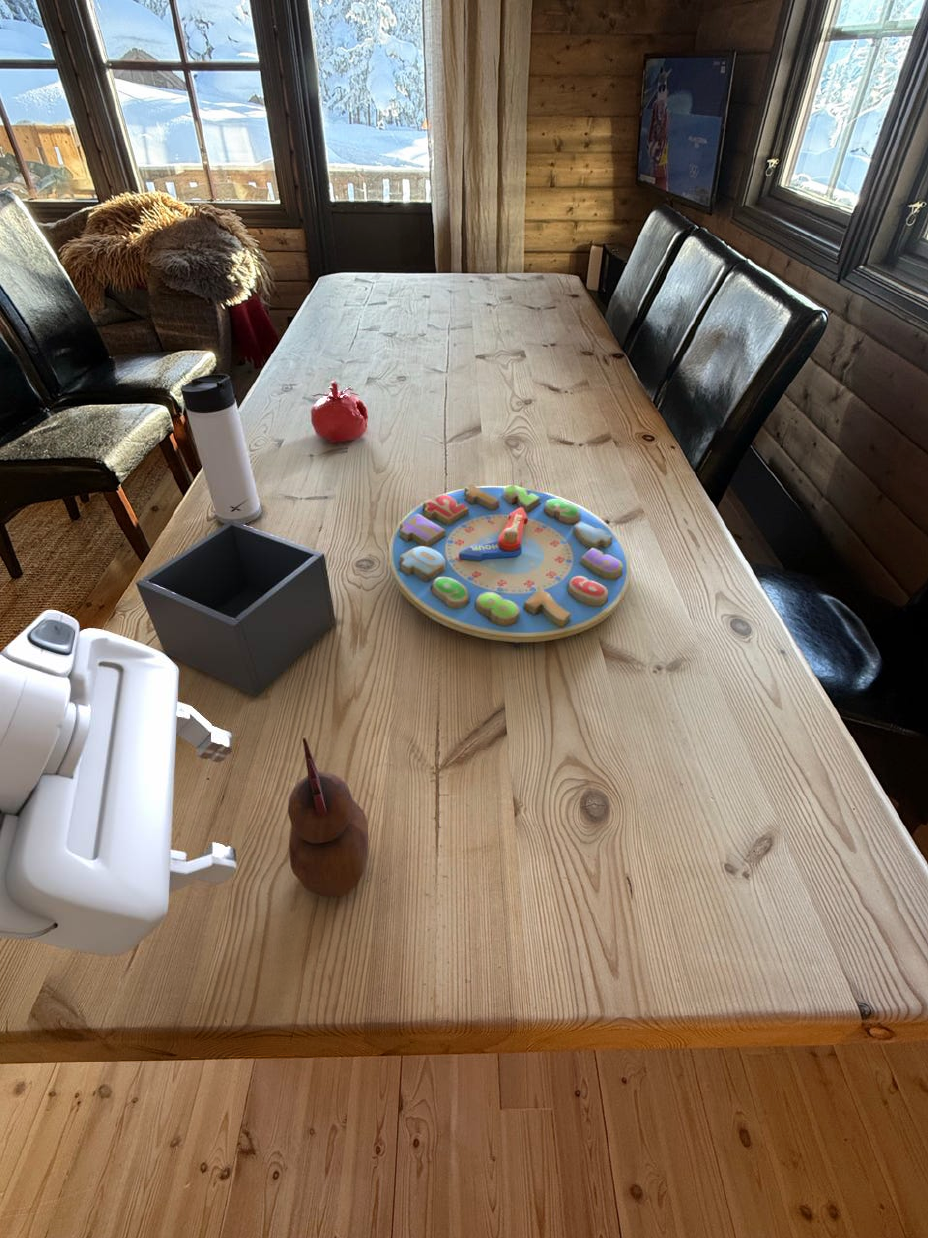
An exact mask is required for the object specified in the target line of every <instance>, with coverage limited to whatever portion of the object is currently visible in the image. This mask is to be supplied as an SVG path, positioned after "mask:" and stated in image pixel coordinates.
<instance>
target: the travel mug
mask: <svg viewBox="0 0 928 1238" xmlns="http://www.w3.org/2000/svg"><path fill="white" fill-rule="evenodd" d="M232 384H233V383H232V379H231V377H230V376H229V375H228V374H225V373H213V374H206V375H203V376H198V377H195V378H193V379H191V381H189V382H187V383H186V384H182V385H181V386H180V392H181V395H182V399H183V401H184V408H185V411H186V415H187V418H188V422H189V425H190V428H191V432H192V436H193V440H194V442H195V443H194V444H195V447H196V450H197V453H198V457H199V460H200V462H201V467H202V470H203V474H204V477H205V481H206V484H207V488H208V491H209V495H210V498H211V501H212V506H213V509H214V512H215V515H216V519H217V521H219V522H220V523H221V524H223V525H225V524H227V523H228V522H230V521H231V520H232V521H235V522H238V523H240V524H243V525H246V524H249V523H252V522H253V521H256V519H258V518H259V517H260V515H261V513H262V508H261V503H260V498H259V495H258V490H257V486H256V481H255V477H254V473H253V469H252V464H251V460H250V456H249V452H248V447H247V443H246V438H245V435H244V430H243V426H242V422H241V417H240V414H239V413H240V412H239V410H238V409H239V408H238V405H237V401H236V398H235V394H234V389H233V386H232Z"/></svg>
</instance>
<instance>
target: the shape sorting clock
mask: <svg viewBox="0 0 928 1238" xmlns="http://www.w3.org/2000/svg"><path fill="white" fill-rule="evenodd" d="M388 562H389V569H390V572H391V575H392V578H393V581H394V583H395V584H396V586H397V588H398V590H399V591H400V593H401V594H402V595H403V596H404V597H405V599H406V600H408V602H409V603H410V604H412V606H414V608H416V609H417V610H418V611H420V612H421V613H422V614H424V615H425V616H427V617H428V618H429V619H431V620H433V621H435V622H436V623H439V624H441V625H442V626H445V627H447V628H449V629H453V630H455V631H457V632H460V633H464V634H467V635H470V636H474V637H477V638H480V639H481V638H482V639H487V640H493V641H498V642H509V643H514V644H516V645H518V644H520V643H538V642H548V641H553V640H558V639H563V638H567V637H571V636H575V635H577V634H579V633H583V632H585V631H588V630H590V629H591V628H593V627H595V626H597V625H599V624H601V623H602V622H603V621H605V620H606V619H607V618H608V617H610V615H612V614H613V613H614V612H615V611H616V610H617V609H618V608H619V606H620V604H621V603H622V602H623V600H624V598H625V596H626V594H627V591H628V588H629V584H630V581H631V577H632V576H631V575H632V567H631V560H630V557H629V555H628V552H627V548H626V546H625V545H624V543H623V542H622V540H621V539H620V537H619V536H618V534H617V533H616V532H615V531H614V530H613V529H612V528H611V526H609V525H608V524H607V523H606V521H604V520H602V519H601V518H600V517H599V516H598V515H596V514H595V513H594V512H592V511H590V510H589V509H588V508H585V507H583V506H582V505H580V504H577V503H576V502H574V501H571V500H568V499H566V498H563V497H561V496H559V495H556V494H553V493H550V492H547V491H541V490H538V489H533V488H527V487H522V486H519V485H515V484H510V485H509V484H508V485H480V486H474V485H473V484H470V485H468V486H465V488H460V489H454V490H451V491H447V492H445V493H442V494H437V495H435V496H434V497H431V498H429V499H427V500H425V501H423V502H421V503H419V504H418V505H417V506H415V507H414V508H413V509H412V510H410V511H409V512H408V513H407V514H406V515H404V517H403V518H402V519H401V520H400V522H399V523H398V525H397V526H396V528H395V529H394V531H393V533H392V534H391V538H390V540H389V545H388Z"/></svg>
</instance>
